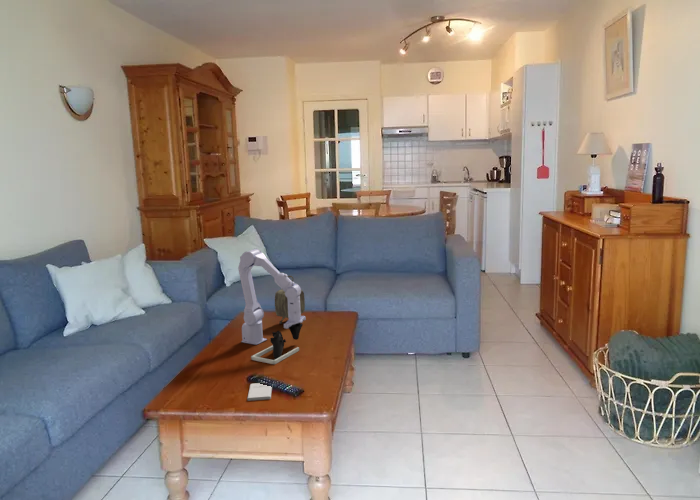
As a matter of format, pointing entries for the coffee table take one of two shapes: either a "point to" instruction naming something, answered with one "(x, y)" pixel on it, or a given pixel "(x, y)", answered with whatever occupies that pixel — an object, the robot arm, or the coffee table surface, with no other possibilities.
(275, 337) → the gaming controller
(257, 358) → the grey u-shaped bracket
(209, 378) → the coffee table surface
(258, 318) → the robot arm
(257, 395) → the external hard drive
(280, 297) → the tabletop clock
